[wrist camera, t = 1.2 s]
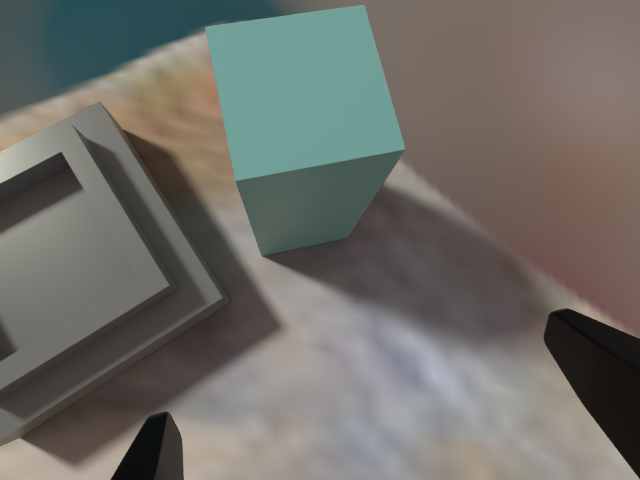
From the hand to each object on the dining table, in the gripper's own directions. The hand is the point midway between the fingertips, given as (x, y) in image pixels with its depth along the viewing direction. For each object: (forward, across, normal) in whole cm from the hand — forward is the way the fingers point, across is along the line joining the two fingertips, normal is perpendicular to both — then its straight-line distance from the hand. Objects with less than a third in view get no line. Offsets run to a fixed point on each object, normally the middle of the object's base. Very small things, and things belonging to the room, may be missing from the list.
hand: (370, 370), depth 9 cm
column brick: (+15, 0, +3) cm, 16 cm away
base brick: (+14, +12, +4) cm, 19 cm away
